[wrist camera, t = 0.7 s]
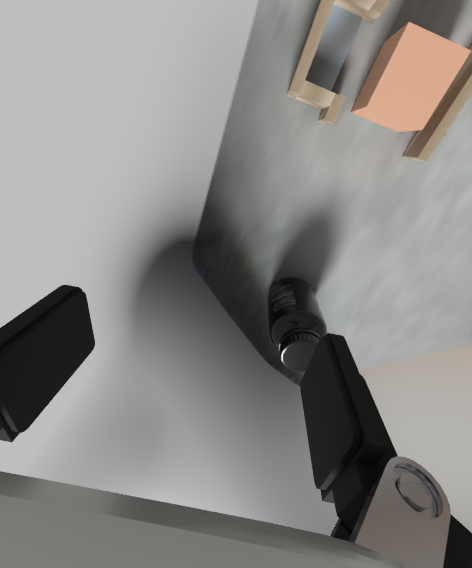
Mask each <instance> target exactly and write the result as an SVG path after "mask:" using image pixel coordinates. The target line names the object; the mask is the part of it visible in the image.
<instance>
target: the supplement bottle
mask: <svg viewBox="0 0 472 568" xmlns="http://www.w3.org/2000/svg"><path fill="white" fill-rule="evenodd" d="M267 300H268V317H269V333H270V339H271V341H272V343H273V345H274V346H275V347H276V348H277V349H278V350H279V352H280V358H281V360H282V363H283V364H284V365H285V366H286V367H287V368H289V369H291V370H293V371H297V372H299V371H300V372H305V371H306V369H307V367H308V365H309V362H310V360H311V358H312V355H313V353H314V351H315V349H316V346H317V344H318V342H319V340H320V338H321V336H325V335H326V334H327V327H326V324H325V321H324V318H323V316H322V313H321V310H320V308H319V305H318V302H317V300H316V297H315V294H314V292H313V290H312V288H311V287H310V285H309V284H307V283H306V282H305V281H303V280H300V279H296V278H288V279H284V280H281V281H279V282H277V283H276V284H275V285H273V287H272V288H271V289H270V291H269V293H268V299H267Z"/></svg>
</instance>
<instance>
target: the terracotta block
mask: <svg viewBox="0 0 472 568" xmlns="http://www.w3.org/2000/svg"><path fill="white" fill-rule="evenodd" d="M470 52H471V50H469V49H467V48H465V47H462V46H460V45H458V44H456V43H454V42H452V41H450V40H447V39H445V38H443V37H441V36H439V35H437V34H434V33H432V32H430V31H428V30H426V29H424V28H422V27H419V26H417V25H415V24H413V23H411V22H408V23H407V24H406V25H404V26H403V27H402V28H401V29H400V30H398V31H397V32H396V33H395V34H394V35H392V36H391V37H390V38H389V39H388V40H386V41H385V42H384V44H383V46H382V48H381V50H380V52H379V54H378V56H377V58H376V60H375V62H374V65H373V67H372V69H371V71H370V73H369V75H368V77H367V79H366V81H365V83H364V86H363V88H362V90H361V92H360V94H359V96H358V98H357V100H356V102H355V104H354V107H353V109H352V111H351V112H352V113H354V114H356V115H359V116H361V117H363V118H366V119H368V120H371V121H373V122H375V123H378V124H380V125H383V126H385V127H387V128H390V129H392V130H395V131H397V132H405V131H416V130H423V128H424V127H425V125H426V123H427V122H428V120H429V118H430V117H431V115H432V114H433V112H434V110H435V109H436V107H437V106H438V104H439V102H440V101H441V99H442V97H443V96H444V94H445V93H446V91H447V89H448V88H449V86H450V85H451V83H452V81H453V80H454V78H455V76H456V75H457V73H458V72H459V70H460V68H461V67H462V65H463V64H464V62H465V60H466V59H467V57H468V56H469V54H470Z"/></svg>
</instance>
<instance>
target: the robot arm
mask: <svg viewBox="0 0 472 568" xmlns="http://www.w3.org/2000/svg"><path fill="white" fill-rule="evenodd" d="M94 346H95V340H94V334H93V329H92V324H91V319H90V313H89V308H88V303H87V298H86V294H85V293H84V292H83V291H82V289H81V288H79V287H74V286H69V285H62V286H60V287H58V288H57V289H56V290H54V291H53V292H51V293H50V294H49V295H47V296H46V297H44V298H43V299H41V300H40V301H38V302H37V303H36V304H34V305H33V306H32V307H30V308H29V309H27V310H26V311H24V312H23V313H21V314H20V315H18V316H17V317H16V318H14V319H13V320H11V321H10V322H8V323H7V324H6V325H4V326H3V327H1V328H0V440H3V441H9V442H13V440H14V439H15V438H16V437H17V436H18V434H19V433H22V432H24V431H25V430H26V429H28V428H29V427H30V425H31V424H32V423H33V422H34V420H35V419H36V418H37V417H38V416H39V414H40V413H41V412H42V411H43V410H44V408H45V407H46V406H47V405H48V404H49V402H50V401H51V400H52V399H53V397H54V396H55V395H56V394H57V393H58V392H59V390H60V389H61V388H62V387H63V386H64V384H65V383H66V382H67V381H68V379H69V378H70V377H71V376H72V375H73V373H74V372H75V371H76V370H77V369H78V367H79V366H80V365H81V364H82V363H83V361H84V360H85V359H86V358H87V357H88V355H89V354H90V353H91V352H92V350H93V348H94ZM301 396H302V402H303V409H304V415H305V422H306V428H307V435H308V442H309V449H310V455H311V462H312V469H313V475H314V481H315V485H316V487H317V489H320V490H321V496H322V501H326V502H331V503H335V508H336V512H337V516H338V517H339V518H338V520H337V522H336V524H335V527H334V528H333V530H332V533H331V534H330V536H327V535H323V534H318V533H313V532H309V531H304V530H300V529H295V528H291V527H286V526H281V525H277V524H272V523H268V522H262V521H257V520H252V519H247V518H242V517H237V516H232V515H227V514H222V513H217V512H211V511H206V510H201V509H196V508H191V507H185V506H181V505H176V504H171V503H165V502H159V501H154V500H149V499H144V498H139V497H134V496H129V495H123V494H118V493H113V492H108V491H102V490H97V489H92V488H87V487H81V486H76V485H71V484H65V483H60V482H55V481H49V480H44V479H38V478H33V477H27V476H22V475H17V474H11V473H6V472H0V568H472V533H471V532H470V531H468V529H466V528H465V527H464V526H463V525H462V524H461V523H460V522H459V521H457V520H456V519H455V518H454V517H453V516H452V515H451V514H450V505H449V502H448V500H447V497H446V495H445V493H444V491H443V490H442V488H441V486H440V485H439V483H438V482H437V481H436V480H435V478H434V477H433V476H432V475H431V474H430V473H429V472H428V471H427V470H426V469H425V468H423V467H422V466H421V465H419V464H418V463H416V462H415V461H413V460H410V459H408V458H405V457H398V456H397V453H396V451H395V449H394V447H393V444H392V442H391V440H390V437H389V435H388V433H387V430H386V428H385V426H384V423H383V421H382V419H381V416H380V414H379V412H378V409H377V407H376V405H375V402H374V400H373V398H372V396H371V393H370V391H369V388H368V386H367V384H366V381H365V379H364V378H363V377H362V376H361V375H360V374H359V371H358V369H357V366H356V364H355V362H354V359H353V357H352V354H351V352H350V350H349V347H348V345H347V342H346V340H345V338H344V337H343V336H341V335H335V334H330V333H327V334H326V335H325V336H321V338H320V340H319V342H318V344H317V346H316V349H315V351H314V353H313V355H312V358H311V360H310V362H309V365H308V367H307V369H306V371H305V374H304V376H303V378H302V381H301Z"/></svg>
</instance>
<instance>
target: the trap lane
mask: <svg viewBox="0 0 472 568" xmlns="http://www.w3.org/2000/svg"><path fill="white" fill-rule="evenodd" d="M389 2H390V0H321V1H320V3H319V6H318V9H317V12H316V15H315V17H314V20H313V23H312V26H311V29H310V31H309V34H308V37H307V40H306V43H305V45H304V48H303V51H302V54H301V57H300V59H299V62H298V65H297V68H296V71H295V73H294V76H293V79H292V82H291V85H290V88H289V90H288V93H287V95H288V96H290V97H293V98H295V99H298V100H300V101H302V102H305V103H307V104H309V105H312V106H314V107H317V108H319V109H321V110H323V111H322V113H321V115H320V118H319V120H318V121H319V122H321V123H324V124H326V125H328V124H331V123H334V122H335V119H336V117H337V115H338V113H339V111H340V109H341V106H342V104H343V102H344V100H345V97H343V96H341V95H338V94H336V93H334V92H331V91H332V88H333V86H334V84H335V81H336V79H337V77H338V74H339V72H340V70H341V67H342V65H343V63H344V60H345V58H346V56H347V53H348V51H349V49H350V46H351V44H352V42H353V39H354V37H355V35H356V32H357V30H358V28H359V25H360V23H361V21H362V19H364V20H366V21H368V22H370V23H373V22H374V21H375V20H376V19H377V17H378V16H379V15H380V14H381V13H382V12H383V11H384V10H385V9H386V8H387V6H388V4H389ZM469 50H471V52H470V54H469V56H468V57H467V59H466V60H465V62H464V64H463V65H462V67H461V68H460V70H459V72H458V73H457V75H456V76H455V78H454V80H453V81H452V83H451V85H450V86H449V88H448V89H447V91H446V93H445V94H444V96H443V97H442V99H441V101H440V102H439V104H438V106H437V107H436V109H435V110H434V112H433V114H432V115H431V117H430V118H429V120H428V122H427V123H426V125H425V127H424V128H423V130H418V132H417V133H416V135H415V137H414V138H413V140H412V141H411V143H410V145H409V146H408V148H407V150H406V151H405V153H404V154H403V157H405V158H408V159H410V160H419V161H427V160H428V158H429V157H430V155H431V154H432V152H433V151H434V150H435V148H436V147H437V145H438V144H439V142H440V141H441V139H442V138H443V136H444V135H445V133H446V132H447V130H448V129H449V127H450V126H451V124H452V123H453V121H454V120H455V118H456V117H457V115H458V114H459V112H460V111H461V109H462V108H463V106H464V105H465V103H466V102H467V100H468V99H469V97H470V96H471V94H472V44H471V46H470V48H469Z"/></svg>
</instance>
